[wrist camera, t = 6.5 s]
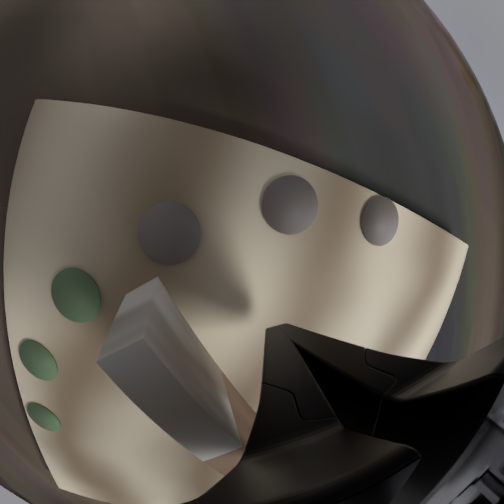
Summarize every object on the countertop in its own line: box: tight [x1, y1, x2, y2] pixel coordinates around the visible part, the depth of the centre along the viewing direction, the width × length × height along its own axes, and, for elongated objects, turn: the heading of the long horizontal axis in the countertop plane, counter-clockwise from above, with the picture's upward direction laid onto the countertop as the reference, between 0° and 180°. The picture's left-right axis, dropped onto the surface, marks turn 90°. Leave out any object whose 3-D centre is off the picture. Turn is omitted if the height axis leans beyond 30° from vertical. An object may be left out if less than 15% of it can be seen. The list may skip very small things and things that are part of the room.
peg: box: [96, 277, 256, 476], centre depth 8 cm, size 14×4×4 cm, turn 26°
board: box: [4, 99, 469, 504], centre depth 11 cm, size 22×24×1 cm
